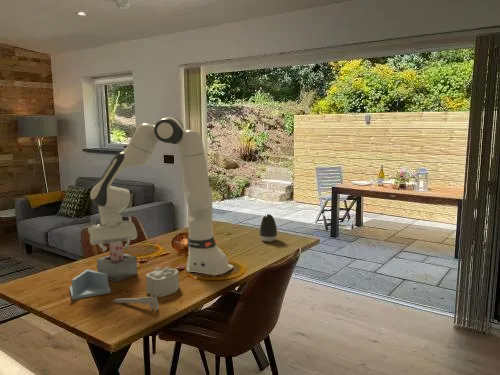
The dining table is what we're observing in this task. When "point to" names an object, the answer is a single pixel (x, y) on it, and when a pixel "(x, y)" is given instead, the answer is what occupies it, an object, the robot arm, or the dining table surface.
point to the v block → (89, 284)
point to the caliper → (140, 301)
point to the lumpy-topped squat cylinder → (162, 281)
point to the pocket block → (118, 267)
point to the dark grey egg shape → (268, 228)
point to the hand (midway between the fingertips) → (116, 249)
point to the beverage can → (116, 251)
